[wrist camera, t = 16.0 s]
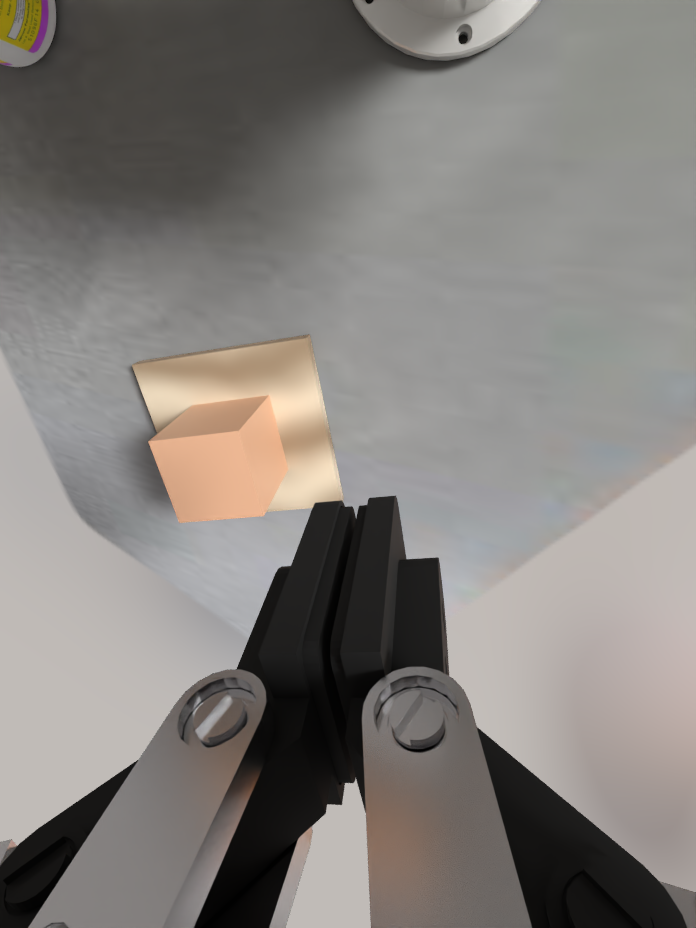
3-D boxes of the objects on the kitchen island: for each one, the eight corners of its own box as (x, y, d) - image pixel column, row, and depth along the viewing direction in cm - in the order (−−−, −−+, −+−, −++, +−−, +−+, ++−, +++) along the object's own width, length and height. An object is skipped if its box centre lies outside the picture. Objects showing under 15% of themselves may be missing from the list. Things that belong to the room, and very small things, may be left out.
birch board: (139, 361, 38) (131, 365, 37) (309, 334, 35) (306, 338, 34) (194, 510, 44) (188, 518, 43) (343, 498, 41) (341, 505, 40)
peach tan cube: (192, 405, 38) (148, 441, 32) (269, 394, 37) (238, 430, 31) (216, 476, 41) (179, 522, 35) (288, 469, 39) (263, 515, 33)
